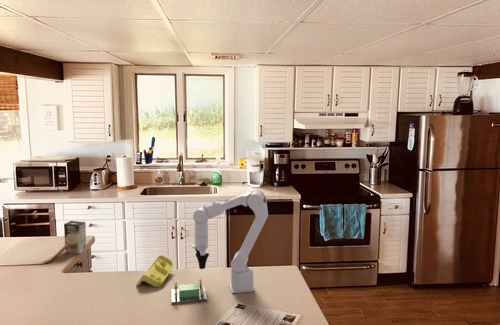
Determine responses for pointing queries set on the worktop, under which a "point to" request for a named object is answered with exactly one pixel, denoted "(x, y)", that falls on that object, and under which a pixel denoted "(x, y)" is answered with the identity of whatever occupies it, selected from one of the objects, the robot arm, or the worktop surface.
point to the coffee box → (75, 237)
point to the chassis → (199, 298)
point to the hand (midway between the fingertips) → (201, 265)
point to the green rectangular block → (188, 290)
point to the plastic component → (158, 272)
